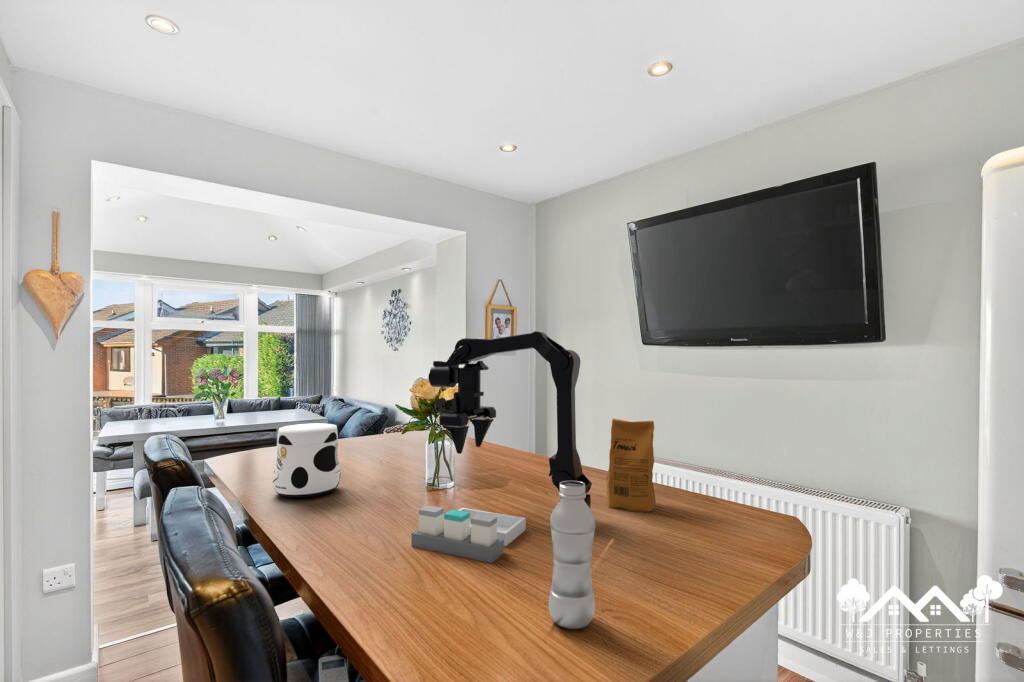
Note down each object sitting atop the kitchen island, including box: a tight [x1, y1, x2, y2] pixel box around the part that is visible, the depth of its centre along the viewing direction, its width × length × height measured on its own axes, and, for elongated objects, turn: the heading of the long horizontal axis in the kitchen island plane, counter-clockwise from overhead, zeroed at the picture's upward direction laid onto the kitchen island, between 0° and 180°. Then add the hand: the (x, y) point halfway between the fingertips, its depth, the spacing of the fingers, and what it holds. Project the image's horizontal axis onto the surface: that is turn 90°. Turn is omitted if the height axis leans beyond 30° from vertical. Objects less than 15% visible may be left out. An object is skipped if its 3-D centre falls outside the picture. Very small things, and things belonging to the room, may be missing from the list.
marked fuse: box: [444, 509, 470, 541], centre depth 94 cm, size 4×3×7 cm
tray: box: [458, 507, 527, 547], centre depth 104 cm, size 16×10×3 cm, turn 65°
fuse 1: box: [418, 504, 445, 536], centre depth 97 cm, size 4×3×7 cm
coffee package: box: [606, 417, 657, 512], centre depth 124 cm, size 10×12×22 cm
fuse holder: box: [411, 528, 505, 564], centre depth 94 cm, size 18×5×3 cm, turn 65°
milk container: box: [272, 422, 342, 498], centre depth 133 cm, size 17×17×18 cm
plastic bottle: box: [548, 481, 596, 630], centre depth 70 cm, size 6×7×20 cm
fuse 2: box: [471, 514, 497, 547], centre depth 92 cm, size 4×3×7 cm
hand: (469, 450), depth 121 cm, fingers open, 9 cm apart
